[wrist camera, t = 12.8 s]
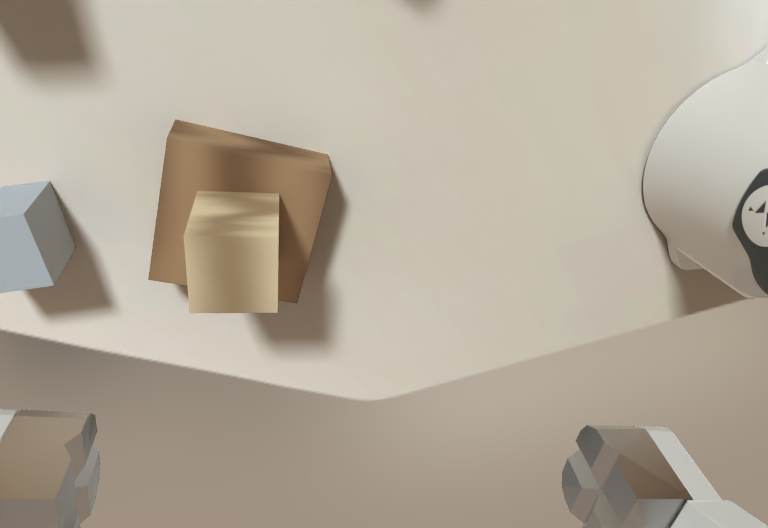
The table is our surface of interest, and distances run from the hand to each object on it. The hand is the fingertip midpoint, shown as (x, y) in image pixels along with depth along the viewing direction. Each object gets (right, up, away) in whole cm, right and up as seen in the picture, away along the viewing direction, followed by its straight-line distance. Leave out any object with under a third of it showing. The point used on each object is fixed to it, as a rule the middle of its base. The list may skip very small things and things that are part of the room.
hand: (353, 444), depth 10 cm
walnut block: (-10, +7, +32) cm, 34 cm away
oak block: (-9, +5, +29) cm, 31 cm away
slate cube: (-23, +6, +30) cm, 39 cm away
